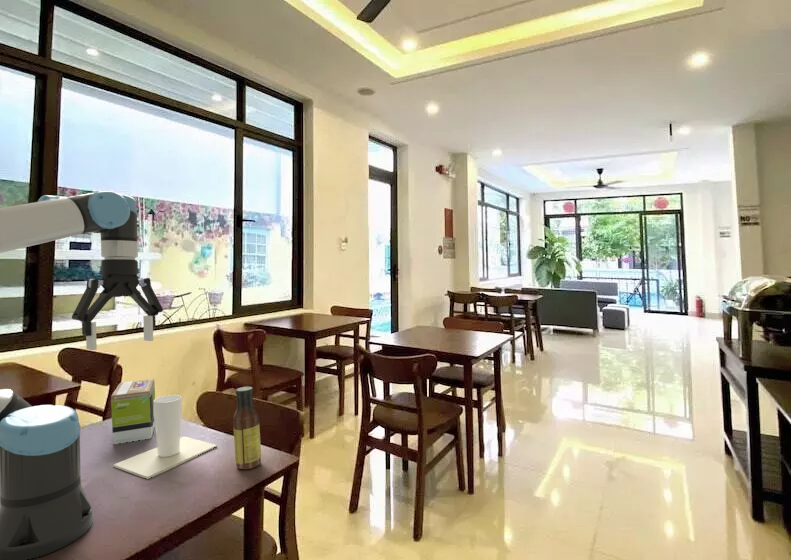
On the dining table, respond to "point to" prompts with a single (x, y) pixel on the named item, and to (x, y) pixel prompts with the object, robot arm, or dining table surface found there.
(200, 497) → the dining table surface
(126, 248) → the robot arm
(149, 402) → the tea box
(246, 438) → the sauce bottle
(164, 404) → the white cup
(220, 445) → the dining table surface
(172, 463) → the placemat
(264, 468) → the dining table surface
